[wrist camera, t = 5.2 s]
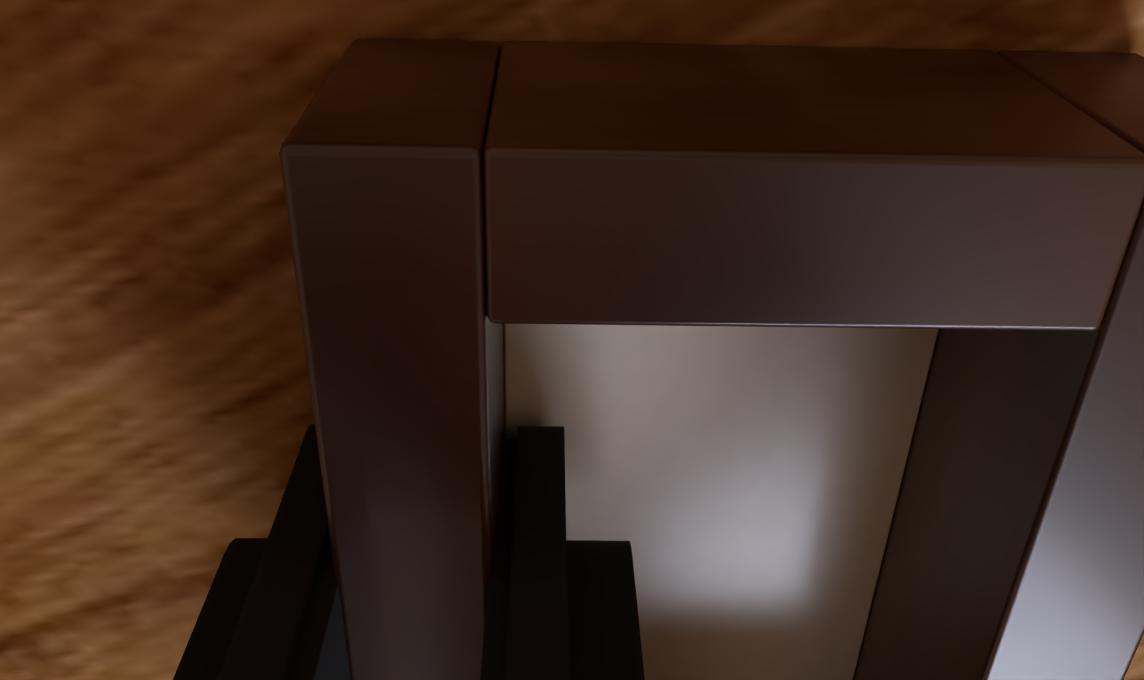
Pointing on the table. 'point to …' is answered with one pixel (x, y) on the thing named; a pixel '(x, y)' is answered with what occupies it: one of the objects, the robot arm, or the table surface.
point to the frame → (736, 346)
